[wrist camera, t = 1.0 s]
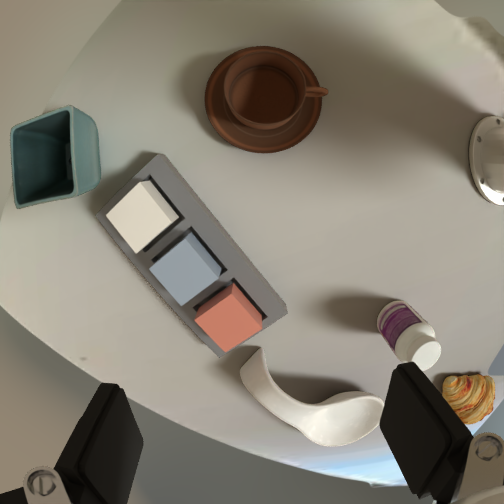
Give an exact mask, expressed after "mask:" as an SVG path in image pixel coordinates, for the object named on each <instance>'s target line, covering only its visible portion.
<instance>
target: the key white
mask: <svg viewBox="0 0 504 504" xmlns="http://www.w3.org/2000/svg"><path fill="white" fill-rule="evenodd" d="M106 216H107V218H108V219H109V220H110V222H111V223H112V224H113V225H114V227H115V228H116V229H117V231H118V232H119V233H120V234H121V236H122V237H123V238H124V239H125V241H126V242H127V243H128V244H129V246H130V247H131V248H132V249H133V250H134V252H135V253H138V252H139V251H140V250H142V249H143V248H144V247H145V246H147V245H148V244H149V243H150V242H151V241H152V240H153V239H154V238H156V237H157V236H158V235H159V234H160V233H161V232H162V231H164V230H165V229H166V228H167V227H168V226H169V225H171V224H172V223H173V222H174V221H175V220H176V219H178V218H179V216H178V215H177V214H176V213H175V212H174V210H173V209H172V208H171V207H170V205H169V204H168V203H167V202H166V200H165V199H164V198H163V197H162V195H161V194H160V193H159V192H158V190H157V189H156V188H155V187H154V185H153V184H152V183H151V181H143V182H139V183H138V184H137V185H136V186H135V187H134V188H133V189H132V190H131V191H130V192H129V193H128V194H127V195H126V196H125V197H124V198H123V199H122V200H121V201H120V202H119V203H118V204H117V205H116V206H115V207H114V208H113V209H112V210H111V211H110V212H109V213H108V214H107V215H106Z"/></svg>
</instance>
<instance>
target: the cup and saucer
mask: <svg viewBox="0 0 504 504" xmlns="http://www.w3.org/2000/svg"><path fill="white" fill-rule="evenodd" d="M327 94H328V90H327V89H325V88H322V87H320V86H319V83H318V80H317V78H316V76H315V75H314V73H313V72H312V70H311V69H310V68H309V66H308V65H307V64H306V63H305V62H304V61H302V60H301V59H300V58H298V57H297V56H295V55H294V54H292V53H290V52H288V51H286V50H283V49H280V48H275V47H269V46H256V47H249V48H245V49H242V50H239V51H237V52H235V53H233V54H231V55H229V56H228V57H226V58H225V59H224V60H223V61H222V62H221V63H220V64H219V65H218V66H217V67H216V68H215V69H214V71H213V72H212V74H211V76H210V78H209V80H208V82H207V86H206V90H205V108H206V112H207V115H208V118H209V120H210V122H211V124H212V126H213V127H214V129H215V130H216V131H217V133H218V134H219V135H220V136H221V137H222V138H224V139H225V140H226V141H227V142H229V143H230V144H232V145H234V146H236V147H238V148H240V149H243V150H246V151H249V152H255V153H274V152H279V151H283V150H286V149H288V148H291V147H293V146H295V145H296V144H298V143H299V142H301V141H302V140H303V139H304V138H306V137H307V136H308V135H309V133H310V132H311V131H312V130H313V128H314V127H315V125H316V123H317V121H318V118H319V116H320V112H321V106H322V96H325V95H327Z"/></svg>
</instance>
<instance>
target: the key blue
mask: <svg viewBox="0 0 504 504" xmlns="http://www.w3.org/2000/svg"><path fill="white" fill-rule="evenodd" d="M149 270H150V271H151V272H152V273H153V274H154V276H155V277H156V278H157V279H158V280H159V281H160V283H161V284H162V285H163V286H164V287H165V288H166V289H167V291H168V292H169V293H170V294H171V295H172V296H173V297H174V299H175V300H176V301H177V302H178V303H179V304H180V305H181V306H182V305H184V304H185V303H186V302H188V301H189V300H190V299H192V298H193V297H194V296H196V295H197V294H198V293H200V292H201V291H202V290H204V289H205V288H206V287H208V286H209V285H210V284H212V283H213V282H214V281H216V280H217V279H218V278H219V275H220V272H221V267H220V266H219V265H218V264H217V263H216V261H215V260H214V259H213V258H212V257H211V255H210V254H209V253H208V252H207V251H206V249H205V248H204V247H203V246H202V245H201V243H200V242H199V241H198V240H197V239H196V237H195V236H194V235H193V234H192V232H191V233H190V234H188V235H187V236H186V237H185V238H183V239H182V240H181V241H180V242H179V243H177V244H176V245H175V246H174V247H173V248H171V249H170V250H169V251H168V252H167V253H165V254H164V255H163V256H162V257H161V258H160V259H158V260H157V261H156V262H155V263H154V264H153V265H152V266H151V267H150V268H149Z"/></svg>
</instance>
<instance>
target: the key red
mask: <svg viewBox="0 0 504 504" xmlns="http://www.w3.org/2000/svg"><path fill="white" fill-rule="evenodd" d="M194 321H195V322H196V323H197V324H198V325H199V326H200V327H201V328H202V329H203V330H204V331H205V332H206V333H207V334H208V335H209V336H210V337H211V338H212V340H213V341H214V342H215V343H216V344H217V345H218V346H219V347H220V348H221V349H222V350H223V351H224V352H227V351H229V350H230V349H232V348H233V347H235V346H236V345H238V344H240V343H241V342H243V341H244V340H246V339H247V338H249V337H250V336H252V335H253V334H255V333H257V332H258V331H260V330H261V329H262V315H261V314H260V313H259V312H258V311H257V310H256V308H255V307H254V306H253V305H252V304H251V303H250V301H249V300H248V299H247V298H246V297H245V296H244V294H243V293H242V292H241V291H240V290H239V289H238V287H237V286H236V285H235V284H234V283H232V284H231V285H229V286H228V287H227V288H225V289H224V290H223V291H221V292H220V293H218V294H217V295H216V296H214V297H213V298H212V299H210V300H209V301H207V302H206V303H205V304H203V305H202V306H201V307H199V309H198V311H197V314H196V317H195V319H194Z"/></svg>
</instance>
